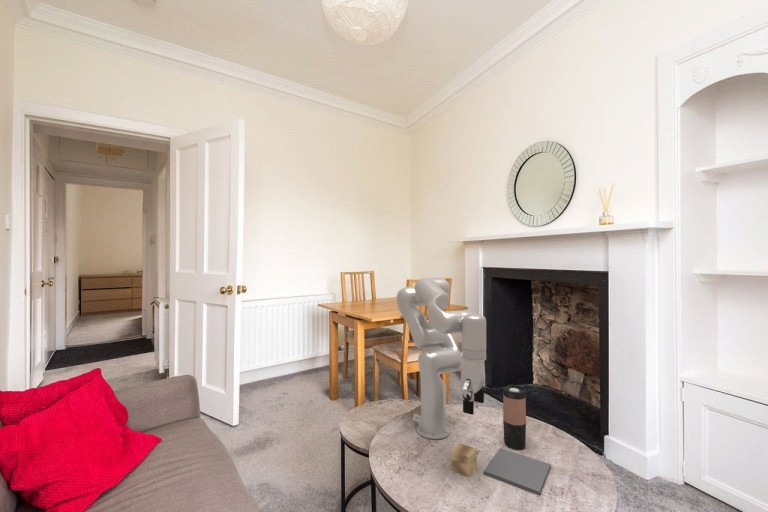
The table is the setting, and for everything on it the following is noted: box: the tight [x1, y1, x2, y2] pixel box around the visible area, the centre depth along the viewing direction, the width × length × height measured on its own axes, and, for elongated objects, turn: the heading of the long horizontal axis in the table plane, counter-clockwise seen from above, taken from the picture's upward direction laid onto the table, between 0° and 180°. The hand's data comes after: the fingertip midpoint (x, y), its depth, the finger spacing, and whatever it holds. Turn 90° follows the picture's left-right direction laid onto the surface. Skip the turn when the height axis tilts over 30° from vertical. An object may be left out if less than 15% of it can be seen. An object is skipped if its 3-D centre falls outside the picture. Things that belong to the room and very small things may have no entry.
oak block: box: [450, 442, 478, 478], centre depth 106 cm, size 6×6×6 cm
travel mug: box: [502, 384, 527, 451], centre depth 120 cm, size 8×8×20 cm
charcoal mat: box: [483, 447, 552, 496], centre depth 105 cm, size 16×16×1 cm
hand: (473, 407), depth 106 cm, fingers open, 9 cm apart
